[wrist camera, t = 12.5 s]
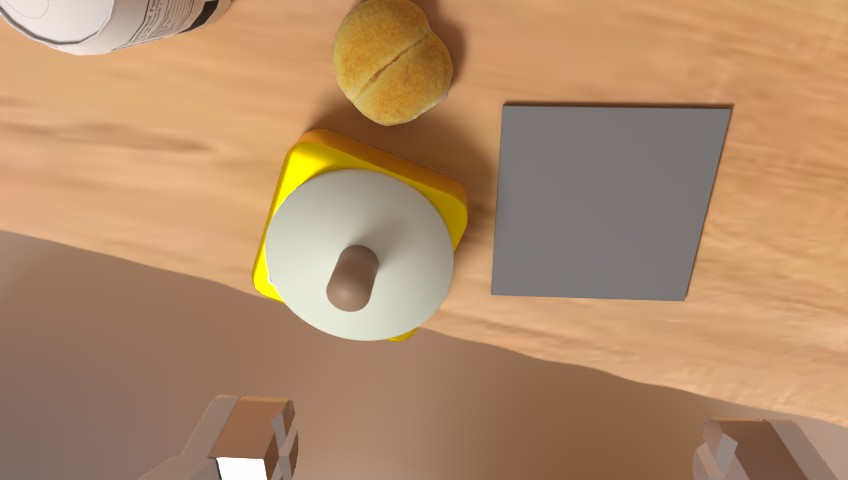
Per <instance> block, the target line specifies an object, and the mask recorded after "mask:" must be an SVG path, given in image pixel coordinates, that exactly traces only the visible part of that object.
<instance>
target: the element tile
mask: <svg viewBox="0 0 848 480" xmlns="http://www.w3.org/2000/svg"><path fill="white" fill-rule="evenodd" d="M340 169H368V170H373V171H378V172H382V173H385V174H388V175H391V176H394V177H396V178H398V179H400V180H402V181H404V182H406V183H408V184H409V185H411V186H412V187H414V188H416V189H417V190H418V191H419V192H420V193H422V194H423V195H424V196H425V197H426V198H427V199H428V200H429V201H430V202H431V203H432V204H433V205H434V206H435V208H436V209H437V210H438V212H439V213H440V215H441V216H442V218H443V220H444V222H445V224H446V225H447V228H448V231H449V233H450V236H451V240H452V245H453V254H454V252H455V250H456V248H457V246H458V244H459V242H460V239H461V237H462V235H463V233H464V231H465V229H466V226H467V223H468V196H467V193H466V191H465V188H464V187H462V186H461V185H460V184H459V183H458V182H457V181H455V180H453V179H452V178H449V177H447V176H444V175H442V174H439V173H436V172H434V171H431V170H429V169H426V168H424V167H421V166H419V165H416V164H414V163H411V162H409V161H406V160H404V159H401V158H399V157H396V156H394V155H391V154H389V153H386V152H384V151H381V150H379V149H376V148H374V147H371V146H368V145H366V144H363V143H361V142H358V141H356V140H353V139H351V138H348V137H346V136H343V135H341V134H338V133H336V132H333V131H331V130H327V129H312V130H309V131H307V132H305V133H304V135H303V136H302V137H301V138H300V139H299V140H298V141H297V142H296V143H295V144H294V145H293V146H292V147H291V149H290V150H289V151H288V152H287V154H286V156H285V159H284V162H283V166H282V169H281V173H280V176H279V180H278V183H277V186H276V190H275V193H274V197H273V200H272V204H271V207H270V211H269V214H268V217H267V221H266V224H265V228H264V231H263V235H262V238H261V242H260V245H259V248H258V252H257V255H256V259H255V262H254V266H253V269H252V280H253V284H254V286H255V288H256V289H257V291H259V292H260V293H261V294H263V295H264V296H266V297H268V298H270V299H272V300H275V301H278V302H281V303H283V304H286V303H285V302H284V301H283V300H282V298H281V297H280V295H279V294H278V293H277V291H276V289H275V287H274V285H273V284H272V281H271V279H270V276H269V273H268V270H267V266H266V261H265V239H266V234H267V229H268V227H269V224H270V222H271V219H272V217H273V215H274V214H275V212H276V210H277V209H278V207H279V206H280V205H281V203H282V202H283V201H284V200H285V198H286V197H287V196H288V195H289V194H290V193H291V192H292V191H293V190H294V189H295V188H296V187H298V186H299V185H301V184H302V183H304V182H305V181H307V180H309V179H311V178H313V177H315V176H317V175H320V174H323V173H326V172H329V171H335V170H340ZM418 327H419V326H418ZM418 327H416V328H414V329H413V330H411V331H409V332H406V333H404V334H401V335H399V336H395V337H391V338H388V339H384V340H388V341H392V342H401V341H404V340H407V339H409V338H410V337H411V336H413V335H414V333H415V332H416V331H417V329H418Z"/></svg>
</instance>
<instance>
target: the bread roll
mask: <svg viewBox="0 0 848 480" xmlns="http://www.w3.org/2000/svg"><path fill="white" fill-rule="evenodd" d="M333 64H334V69H335V74H336V79H337V82H338V84H339V86H340V88H341V90H342V91H343V93H344V94H345V95H346V97H347V98H348V99H349V100H350V101H351V102H352V103H353V104H354V105H355V107H356V108H357V109H358V110H359V111H360V112H361V113H362V114H363V115H365V116H366V117H368V118H369V119H371V120H372V121H374V122H376V123H378V124H381V125H384V126H393V125H396V124H402V123H407V122H408V121H411V120H413V119H415V118H417V117H418V116H419V115H420V114H422V113H424V112H426V111H427V110H429V109H430V108H431V107H433V106H435V105H436V104H438V103H439V102H441V101H442V100H444V99H445V98H446V97H447V96H448V90H449V86H450V83H451V79H452V75H453V66H452V62H451V58H450V54H449V51H448V49H447V48H446V46H445V44H444V43H443V42H442V40H441V39H440V38H439V37H438V36H437V35H435V33H434V32H433V31H432V29H431V28H430V26H429V23H428V20H427V18H426V15H425V13H424V12H423V10H422V9H421V8H420V7H419V6H418V5H416V4H415V3H413V2H411V1H409V0H368V1H365V2H363V3H361V4H359V5H358V6H356V7H355V8H354V9H353V10H352V11H351V12H350V13H349V14H348V15H347V16H346V17H345V18H344V19H343V21H342V23H341V25H340V26H339V28H338V31H337V33H336V37H335V41H334V46H333Z"/></svg>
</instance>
